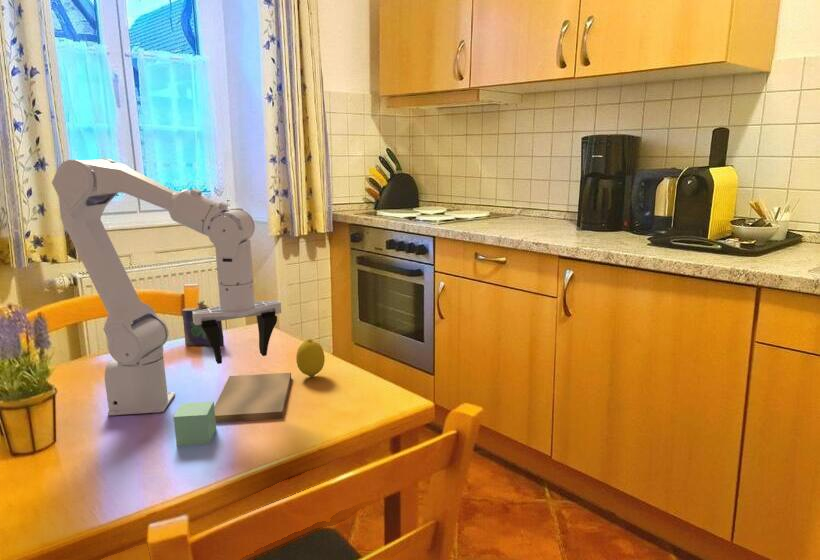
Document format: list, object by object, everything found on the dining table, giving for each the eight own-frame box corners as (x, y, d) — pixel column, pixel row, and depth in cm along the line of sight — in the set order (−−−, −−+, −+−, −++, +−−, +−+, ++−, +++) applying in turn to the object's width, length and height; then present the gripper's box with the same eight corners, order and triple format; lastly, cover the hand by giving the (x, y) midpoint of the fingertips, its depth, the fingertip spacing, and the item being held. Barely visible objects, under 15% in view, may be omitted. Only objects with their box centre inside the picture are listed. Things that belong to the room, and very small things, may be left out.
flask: (183, 347, 139) (179, 302, 136) (189, 343, 142) (185, 299, 139) (221, 348, 138) (217, 303, 135) (226, 343, 141) (222, 300, 138)
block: (176, 446, 92) (173, 416, 91) (185, 431, 97) (181, 403, 96) (209, 444, 93) (206, 414, 92) (216, 429, 98) (213, 401, 97)
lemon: (319, 383, 116) (317, 344, 114) (293, 381, 117) (290, 343, 115) (329, 372, 121) (327, 335, 119) (303, 371, 122) (301, 334, 120)
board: (210, 422, 100) (209, 416, 100) (229, 381, 117) (229, 376, 117) (282, 418, 101) (282, 411, 101) (291, 378, 119) (291, 372, 118)
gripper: (194, 291, 93) (202, 373, 96) (284, 281, 100) (289, 357, 103) (187, 283, 99) (194, 359, 102) (272, 273, 106) (277, 346, 109)
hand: (241, 358), depth 103 cm, fingers open, 7 cm apart
